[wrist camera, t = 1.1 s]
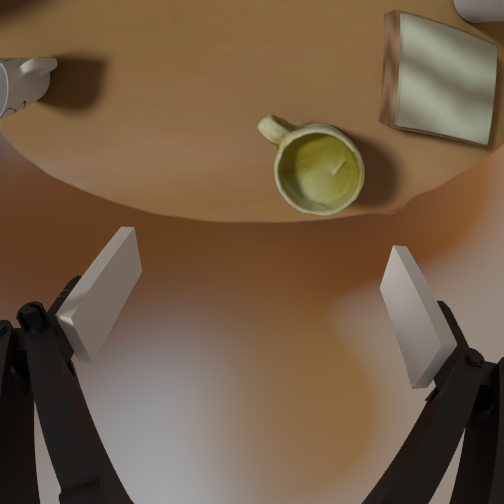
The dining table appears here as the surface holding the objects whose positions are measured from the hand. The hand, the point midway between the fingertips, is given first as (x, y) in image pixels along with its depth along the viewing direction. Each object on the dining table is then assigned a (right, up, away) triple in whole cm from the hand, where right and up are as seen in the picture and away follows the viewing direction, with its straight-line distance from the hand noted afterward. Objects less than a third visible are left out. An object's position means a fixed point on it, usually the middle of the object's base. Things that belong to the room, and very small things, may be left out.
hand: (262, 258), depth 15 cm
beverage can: (+27, +32, +7) cm, 42 cm away
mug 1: (-30, +25, +16) cm, 42 cm away
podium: (+22, +22, +13) cm, 34 cm away
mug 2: (+6, +13, +21) cm, 25 cm away
